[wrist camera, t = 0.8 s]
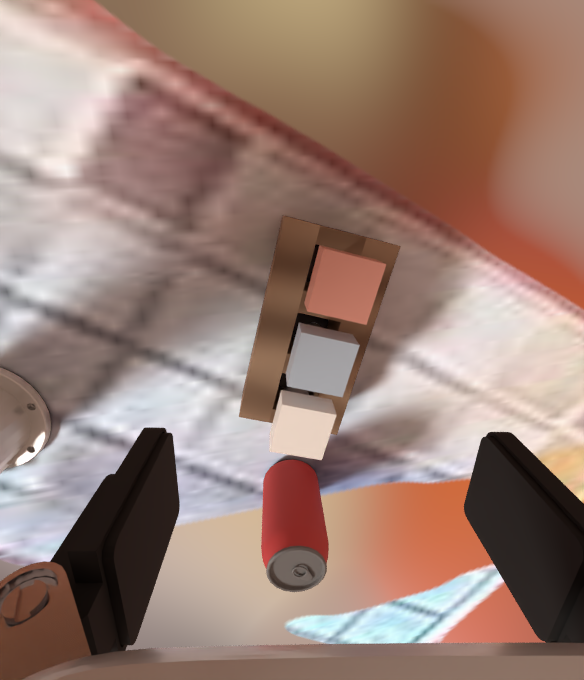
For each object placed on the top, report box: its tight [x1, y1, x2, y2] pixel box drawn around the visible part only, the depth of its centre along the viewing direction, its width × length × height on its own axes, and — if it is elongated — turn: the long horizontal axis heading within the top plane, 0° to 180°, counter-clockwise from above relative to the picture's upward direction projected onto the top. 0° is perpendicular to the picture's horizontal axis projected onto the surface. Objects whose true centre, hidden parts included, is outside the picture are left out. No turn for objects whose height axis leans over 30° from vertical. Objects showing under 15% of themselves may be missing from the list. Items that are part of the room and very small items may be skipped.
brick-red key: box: [304, 245, 386, 325], centre depth 28 cm, size 4×4×7 cm
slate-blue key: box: [286, 322, 360, 397], centre depth 30 cm, size 4×4×7 cm
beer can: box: [261, 460, 328, 592], centre depth 38 cm, size 7×7×12 cm
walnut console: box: [239, 216, 400, 435], centre depth 35 cm, size 19×10×5 cm, turn 166°
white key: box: [269, 386, 336, 460], centre depth 32 cm, size 4×4×7 cm
